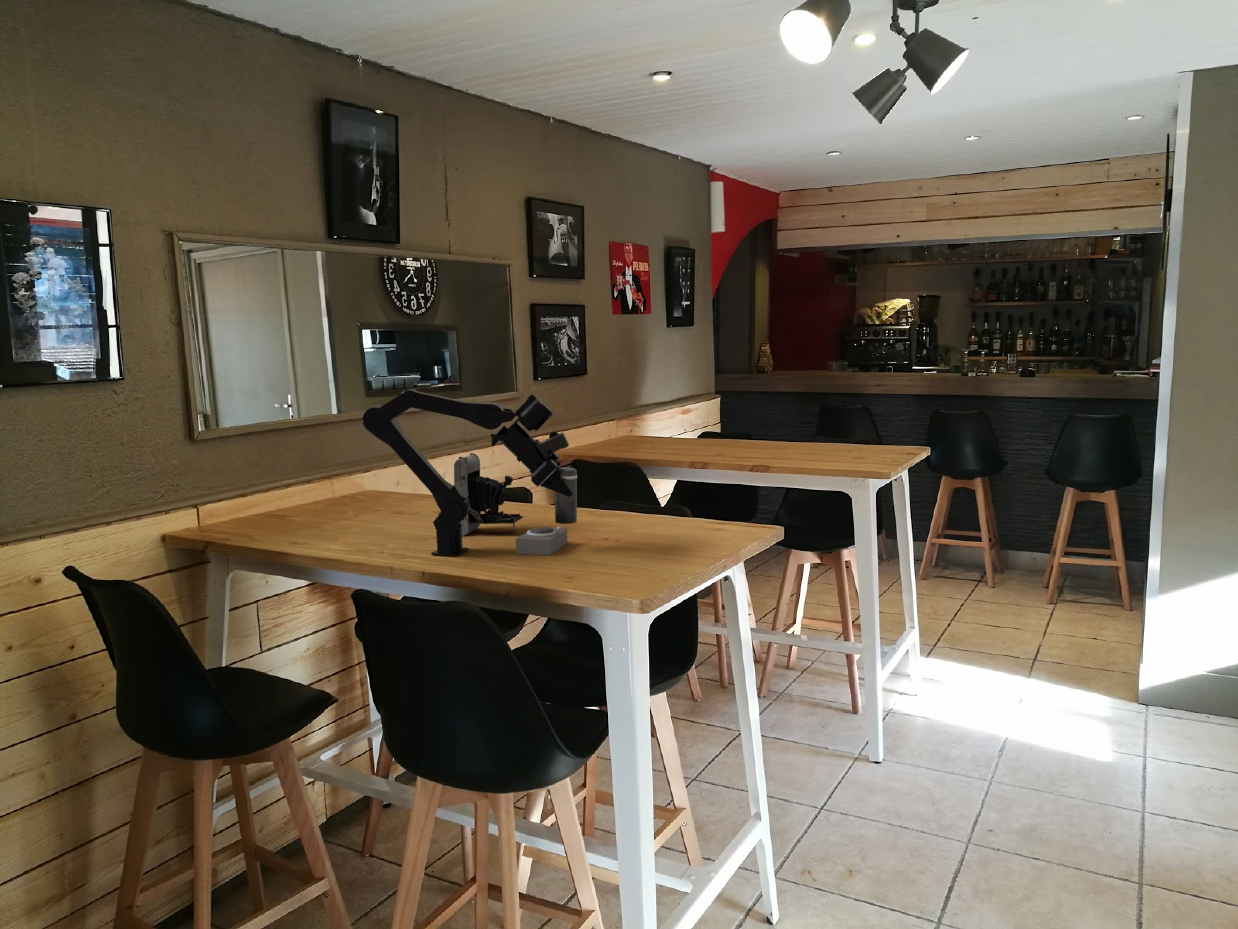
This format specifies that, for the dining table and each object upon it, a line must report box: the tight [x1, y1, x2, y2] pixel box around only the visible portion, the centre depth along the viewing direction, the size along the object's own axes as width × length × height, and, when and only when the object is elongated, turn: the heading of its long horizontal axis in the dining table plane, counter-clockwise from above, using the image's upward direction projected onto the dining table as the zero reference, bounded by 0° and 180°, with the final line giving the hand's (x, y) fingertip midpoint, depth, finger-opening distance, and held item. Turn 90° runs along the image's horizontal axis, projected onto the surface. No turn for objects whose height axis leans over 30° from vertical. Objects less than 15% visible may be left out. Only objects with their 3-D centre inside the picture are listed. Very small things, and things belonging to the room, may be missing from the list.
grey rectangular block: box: [515, 526, 568, 556], centre depth 206 cm, size 12×8×4 cm, turn 164°
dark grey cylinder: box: [554, 467, 578, 525], centre depth 204 cm, size 5×5×12 cm
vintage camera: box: [453, 452, 524, 537], centre depth 224 cm, size 10×16×20 cm, turn 79°
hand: (571, 493), depth 204 cm, fingers closed on dark grey cylinder, 5 cm apart
